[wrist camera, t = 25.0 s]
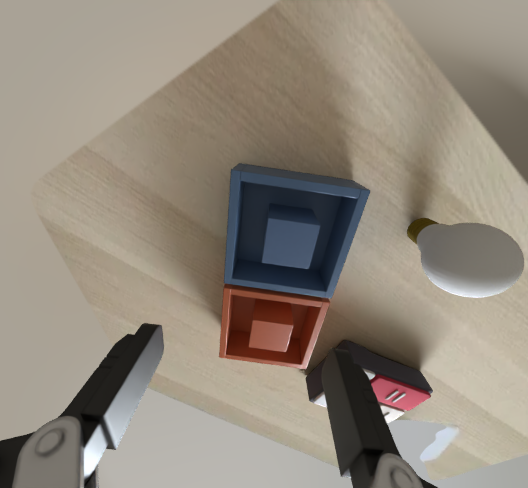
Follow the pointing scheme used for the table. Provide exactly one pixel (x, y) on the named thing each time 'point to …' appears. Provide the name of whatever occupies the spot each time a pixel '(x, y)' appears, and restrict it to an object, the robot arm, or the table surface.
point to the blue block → (290, 236)
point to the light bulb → (467, 257)
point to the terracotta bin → (240, 320)
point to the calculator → (379, 382)
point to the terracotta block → (271, 325)
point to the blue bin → (297, 195)
